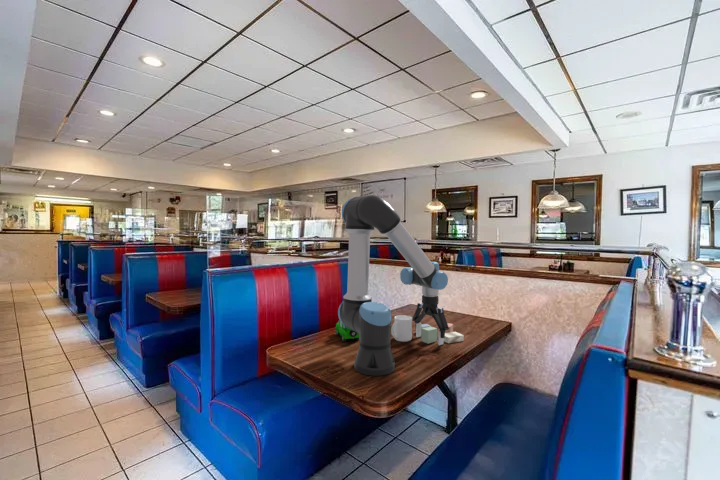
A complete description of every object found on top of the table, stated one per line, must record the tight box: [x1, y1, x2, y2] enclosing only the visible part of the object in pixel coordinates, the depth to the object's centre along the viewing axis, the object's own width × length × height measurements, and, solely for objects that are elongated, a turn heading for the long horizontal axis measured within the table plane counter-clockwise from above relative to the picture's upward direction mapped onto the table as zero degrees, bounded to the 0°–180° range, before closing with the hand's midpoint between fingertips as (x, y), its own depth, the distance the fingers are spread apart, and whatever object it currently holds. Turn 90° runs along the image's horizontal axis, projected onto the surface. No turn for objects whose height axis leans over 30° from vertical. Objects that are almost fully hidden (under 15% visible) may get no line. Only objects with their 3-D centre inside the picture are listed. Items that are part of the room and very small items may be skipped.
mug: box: [391, 314, 413, 343], centre depth 161 cm, size 12×8×10 cm
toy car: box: [334, 320, 359, 343], centre depth 163 cm, size 8×17×10 cm, turn 20°
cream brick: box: [443, 331, 465, 344], centre depth 162 cm, size 9×6×3 cm, turn 115°
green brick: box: [421, 326, 438, 344], centre depth 160 cm, size 6×4×6 cm, turn 127°
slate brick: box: [421, 323, 432, 336], centre depth 172 cm, size 6×4×4 cm, turn 113°
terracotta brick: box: [445, 322, 454, 333], centre depth 174 cm, size 6×4×4 cm, turn 152°
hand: (429, 340), depth 160 cm, fingers open, 13 cm apart
